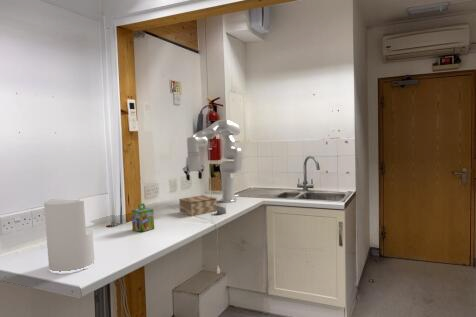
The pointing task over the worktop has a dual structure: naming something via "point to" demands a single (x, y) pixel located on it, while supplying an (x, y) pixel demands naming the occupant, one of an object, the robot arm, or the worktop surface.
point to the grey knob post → (221, 209)
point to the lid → (197, 199)
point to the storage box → (198, 207)
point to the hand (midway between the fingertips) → (194, 179)
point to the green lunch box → (142, 219)
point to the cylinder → (67, 235)
